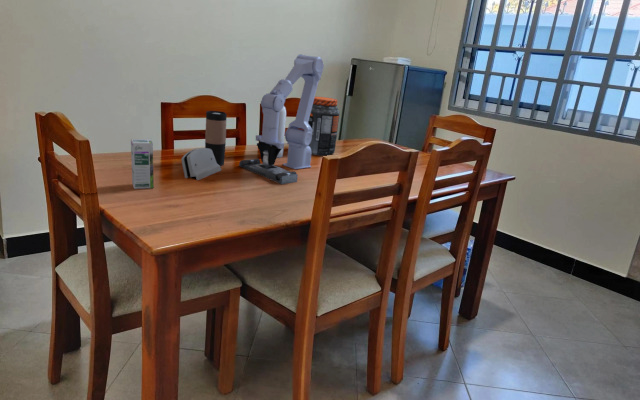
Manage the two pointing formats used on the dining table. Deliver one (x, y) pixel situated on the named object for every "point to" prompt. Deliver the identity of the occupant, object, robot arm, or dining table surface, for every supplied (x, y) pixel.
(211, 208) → the dining table surface
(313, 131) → the supplement tub
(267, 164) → the steel pin
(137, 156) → the syrup box
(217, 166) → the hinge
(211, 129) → the travel mug
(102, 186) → the dining table surface
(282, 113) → the bottle
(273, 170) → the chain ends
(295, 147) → the robot arm
